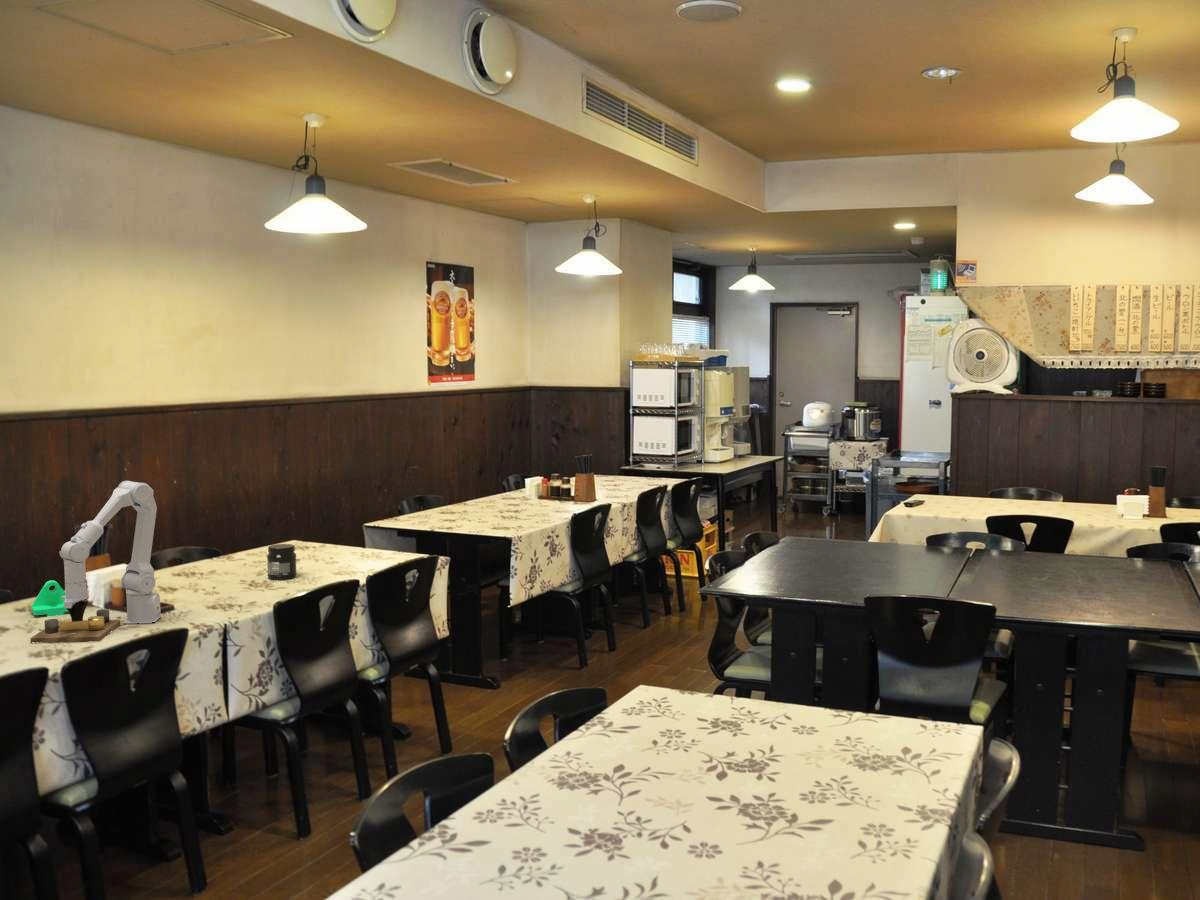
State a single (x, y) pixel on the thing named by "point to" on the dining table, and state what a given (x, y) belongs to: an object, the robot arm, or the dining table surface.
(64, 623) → the brass lever handle
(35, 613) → the green triangular bracket
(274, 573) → the supplement container
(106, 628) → the levelling base
